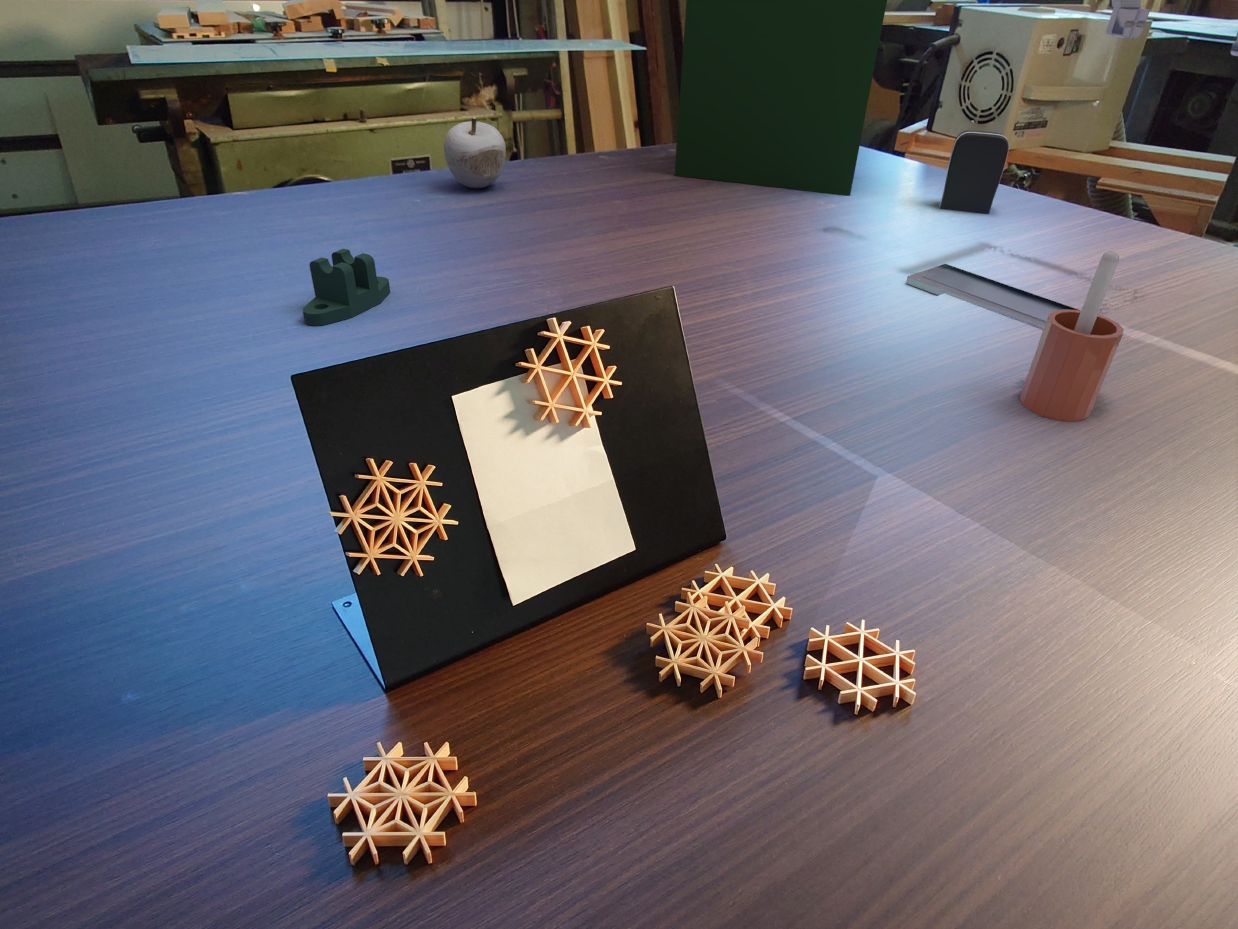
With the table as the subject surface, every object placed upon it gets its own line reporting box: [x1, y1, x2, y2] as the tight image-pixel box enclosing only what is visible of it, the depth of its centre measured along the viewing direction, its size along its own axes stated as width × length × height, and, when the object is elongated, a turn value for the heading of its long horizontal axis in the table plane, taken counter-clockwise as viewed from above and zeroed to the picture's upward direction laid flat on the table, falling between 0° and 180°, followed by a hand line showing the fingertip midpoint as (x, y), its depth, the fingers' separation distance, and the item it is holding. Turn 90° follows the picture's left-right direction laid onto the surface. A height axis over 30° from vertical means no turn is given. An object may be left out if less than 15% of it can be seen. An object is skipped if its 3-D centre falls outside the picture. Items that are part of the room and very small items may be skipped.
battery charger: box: [938, 129, 1010, 215], centre depth 110 cm, size 7×4×11 cm, turn 73°
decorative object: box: [443, 116, 507, 189], centre depth 116 cm, size 9×9×10 cm
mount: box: [302, 248, 391, 327], centre depth 80 cm, size 11×4×5 cm, turn 153°
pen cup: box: [1019, 309, 1125, 423], centre depth 66 cm, size 5×5×8 cm
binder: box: [674, 0, 888, 196], centre depth 121 cm, size 27×15×32 cm, turn 74°
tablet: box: [905, 263, 1079, 331], centre depth 90 cm, size 18×16×1 cm
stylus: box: [1074, 250, 1120, 335], centre depth 64 cm, size 1×1×13 cm
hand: (1181, 46), depth 53 cm, fingers open, 8 cm apart
